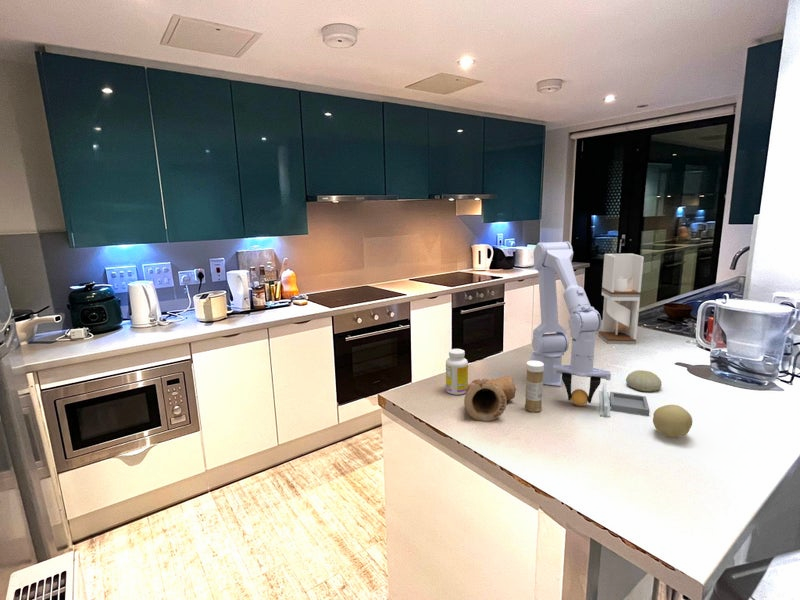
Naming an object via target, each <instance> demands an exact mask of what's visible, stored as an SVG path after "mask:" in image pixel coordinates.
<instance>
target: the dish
mask: <svg viewBox="0 0 800 600" xmlns="http://www.w3.org/2000/svg"><path fill="white" fill-rule="evenodd" d="M609 405H611V406H610V411H613V412H618V413H619V412H620V413H626V414H633V415H634V414H635V415H639V414H640V415H639V416H645V415H646V417H650V412H651V411H650V407H649V403H648V398H647V397H646V395H641V394H640V395H639V394H632V393H631V394H630V393H623V392H616V391H609Z"/></svg>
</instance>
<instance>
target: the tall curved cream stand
mask: <svg viewBox="0 0 800 600" xmlns="http://www.w3.org/2000/svg"><path fill="white" fill-rule="evenodd" d="M644 258H645V257H644V256H642V255H639V254H635V253H604V255H603V269H602V270H603V271H602V283H601V285H602V286H601V296H603V310H602V320H601V330H598V337H599V338H601V340H602V341H604V342H605V343H606V344H607V345H636V344H637V335H638V326H639V325H638V323H639V313H640V305H641V304H640V303H641V302H640V301H641V292H642V280H643V269H644Z"/></svg>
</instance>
